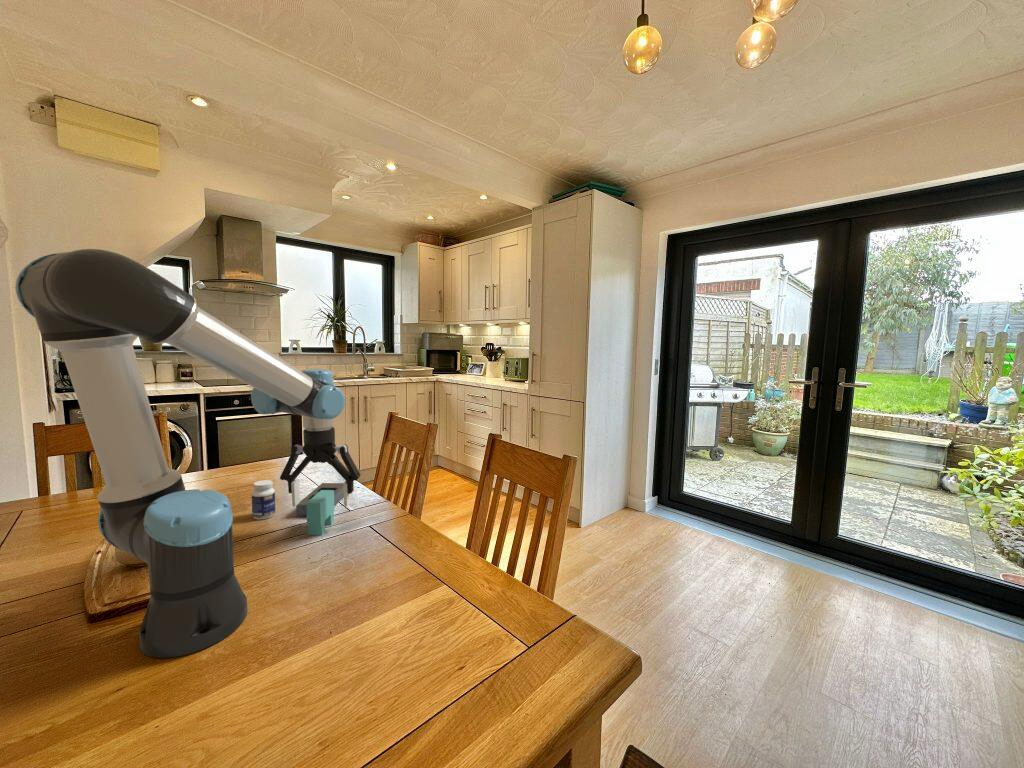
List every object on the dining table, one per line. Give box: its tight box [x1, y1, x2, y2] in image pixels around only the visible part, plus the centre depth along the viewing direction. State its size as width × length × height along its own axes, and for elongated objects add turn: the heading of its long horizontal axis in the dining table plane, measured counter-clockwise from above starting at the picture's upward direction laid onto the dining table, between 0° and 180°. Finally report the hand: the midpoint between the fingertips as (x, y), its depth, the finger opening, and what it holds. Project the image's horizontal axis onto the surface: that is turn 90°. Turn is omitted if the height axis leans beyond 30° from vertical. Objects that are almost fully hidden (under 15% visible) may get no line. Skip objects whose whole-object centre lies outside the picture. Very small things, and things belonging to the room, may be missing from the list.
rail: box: [295, 482, 344, 518], centre depth 126 cm, size 18×8×4 cm, turn 2°
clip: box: [306, 490, 335, 536], centre depth 110 cm, size 9×4×9 cm, turn 2°
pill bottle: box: [251, 479, 276, 520], centre depth 116 cm, size 6×6×10 cm
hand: (321, 504), depth 110 cm, fingers open, 13 cm apart
